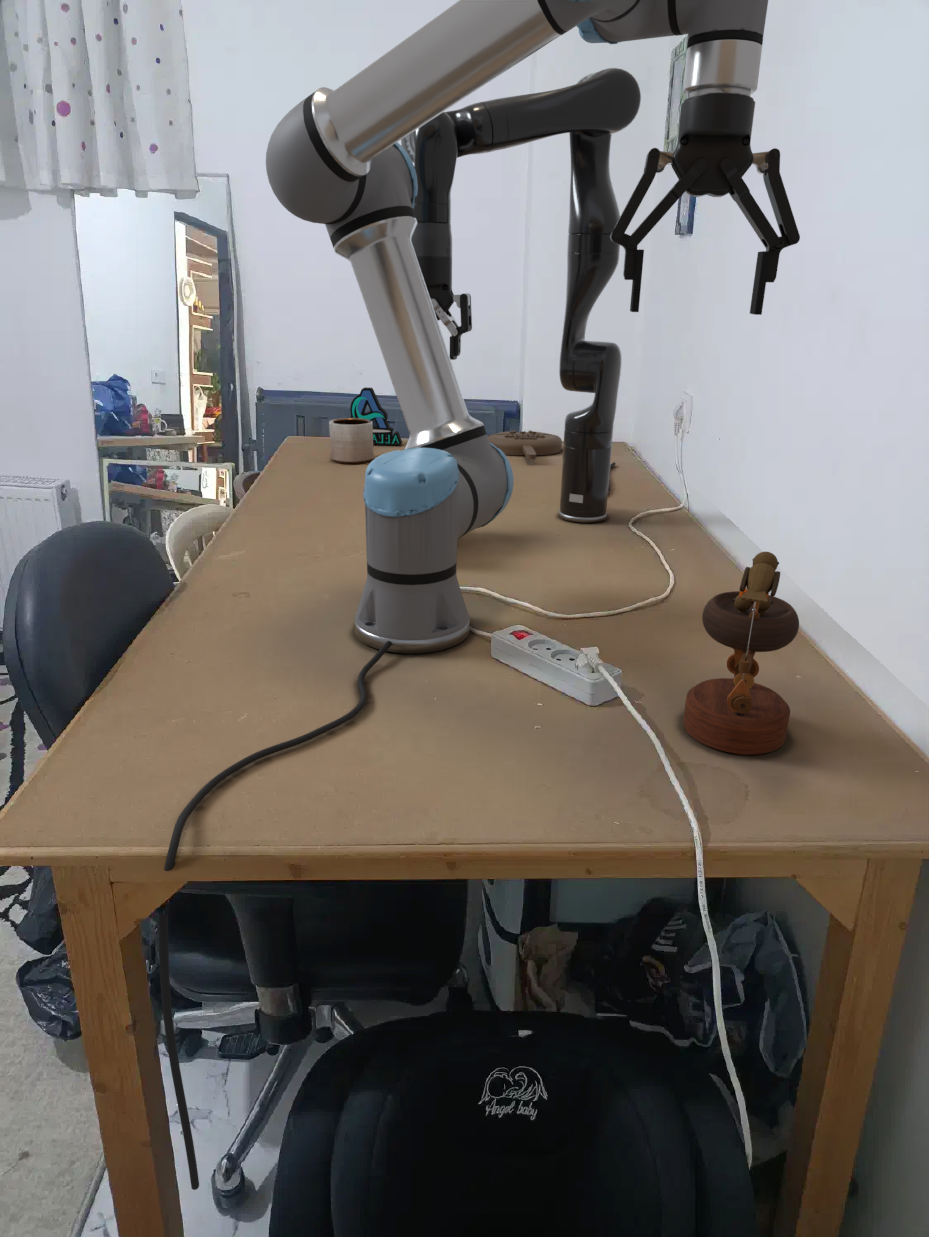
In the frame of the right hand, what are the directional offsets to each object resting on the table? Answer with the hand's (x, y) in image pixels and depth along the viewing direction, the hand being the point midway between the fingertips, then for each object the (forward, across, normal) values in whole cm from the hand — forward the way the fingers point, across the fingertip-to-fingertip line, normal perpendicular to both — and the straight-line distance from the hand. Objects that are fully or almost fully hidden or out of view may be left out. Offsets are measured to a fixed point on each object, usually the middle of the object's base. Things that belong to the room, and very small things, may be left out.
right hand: (429, 358), depth 143 cm
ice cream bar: (+31, -2, -78) cm, 84 cm away
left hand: (-10, -44, +36) cm, 58 cm away
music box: (+31, -53, +58) cm, 84 cm away
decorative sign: (+31, +42, -77) cm, 93 cm away
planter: (+31, +38, -56) cm, 75 cm away
